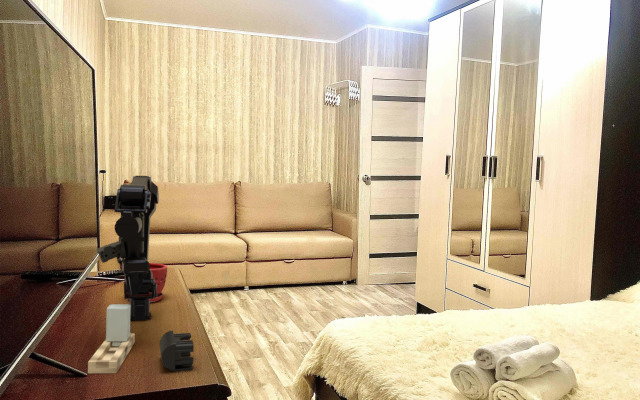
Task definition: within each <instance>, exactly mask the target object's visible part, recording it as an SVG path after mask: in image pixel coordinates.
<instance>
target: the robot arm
mask: <svg viewBox="0 0 640 400" xmlns="http://www.w3.org/2000/svg"><path fill="white" fill-rule="evenodd" d="M159 192H160V191H159V187H158V185H156V184H155V183H154V182H153V181H152V176H149V175H134V176H132V180H131V182H130V183H129V184H121V185H120V186H119V188H117V191H116V197H115V205H114V213H120V217H119V218H118V219H117V220H116V222H115V224H114V232H115V234H116V235H117V236H118V240H117V241H115V242H112V243H108V244H106V245H103V246H100V247H98V248H97V249H96V251H97V254H98V256H99V259H100V261H101V264H102V263H107V262H108V261H110V260H113V259H116V262H117V263H118V264H119V265H120V266H121V268H122V270H121V271H122V273H123V274H124V280H123V281H124V282H123V296H124V297H123V298H124V300H129V299H130V300H129V304H131V307H130V321H145V320H147V321H148V320H151V319H152V312H151V311H150V308H151V307H150V305H151V304H150V303H151V302H150V299H154V298H156V297H157V284H156V283H155V278H154V279H153V274H152V272H151V270H150V263H151V262H149V251H150V249H149V248H150V235H151V234H150V231H151V230H150V228H151V218H152V216H153V215H154V214H155V212H156V210H157V204H158V205H159V201H160V194H159ZM150 292H152V293H150Z"/></svg>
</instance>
